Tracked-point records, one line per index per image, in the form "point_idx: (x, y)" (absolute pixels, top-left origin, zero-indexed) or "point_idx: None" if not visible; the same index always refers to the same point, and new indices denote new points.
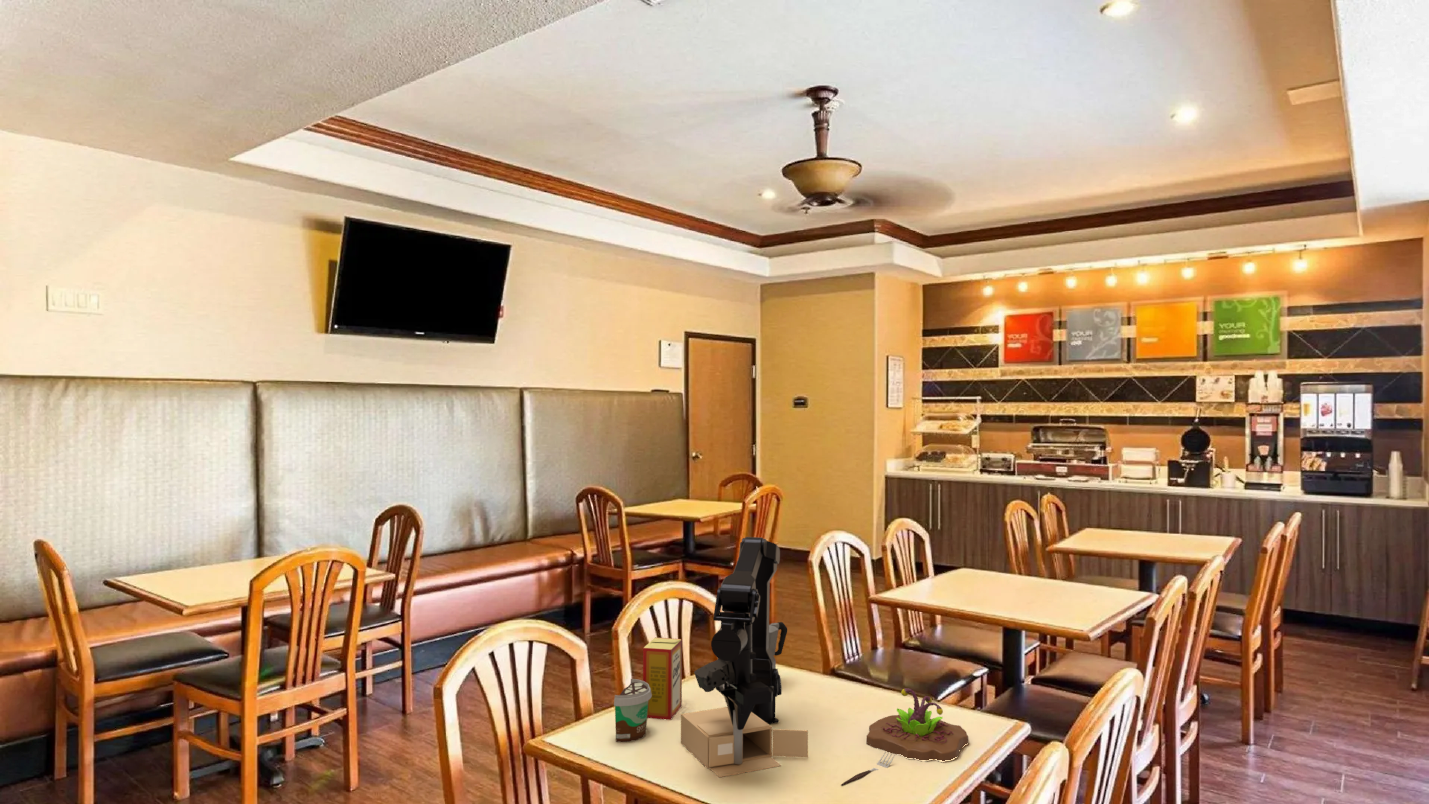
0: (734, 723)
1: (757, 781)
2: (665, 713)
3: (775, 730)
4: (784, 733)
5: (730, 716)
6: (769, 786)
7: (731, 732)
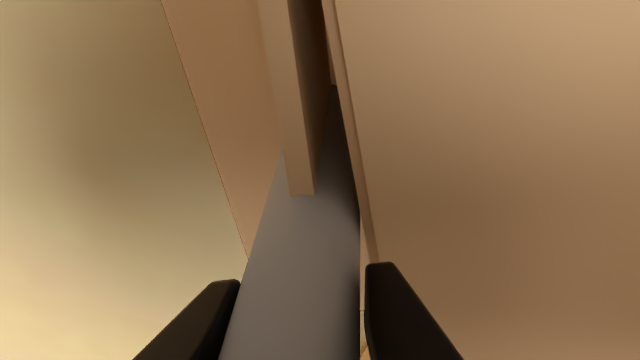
0: (255, 300)
1: (80, 155)
2: None
3: None
4: None
5: (415, 334)
6: (18, 195)
7: (367, 194)
